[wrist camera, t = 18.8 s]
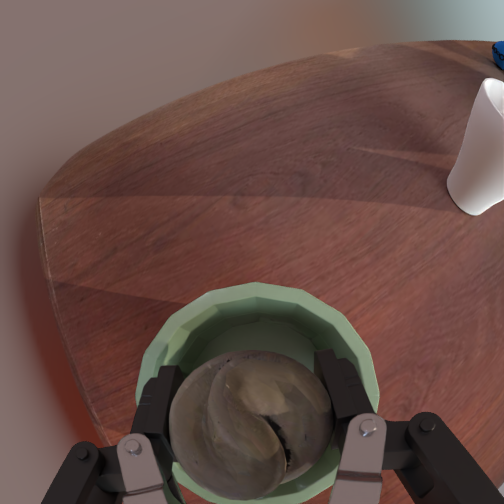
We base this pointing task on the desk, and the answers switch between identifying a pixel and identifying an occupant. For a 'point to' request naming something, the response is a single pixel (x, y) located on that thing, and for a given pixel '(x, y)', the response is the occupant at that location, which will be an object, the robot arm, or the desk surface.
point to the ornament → (498, 53)
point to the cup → (481, 153)
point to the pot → (266, 339)
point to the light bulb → (249, 423)
